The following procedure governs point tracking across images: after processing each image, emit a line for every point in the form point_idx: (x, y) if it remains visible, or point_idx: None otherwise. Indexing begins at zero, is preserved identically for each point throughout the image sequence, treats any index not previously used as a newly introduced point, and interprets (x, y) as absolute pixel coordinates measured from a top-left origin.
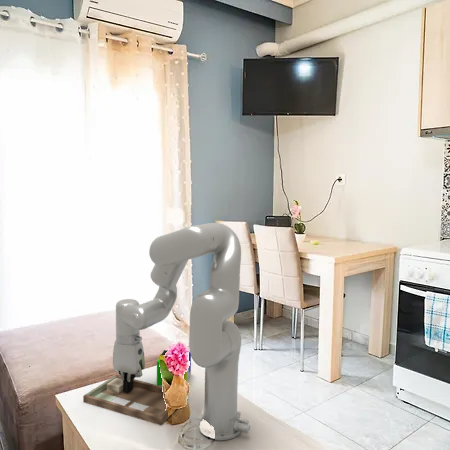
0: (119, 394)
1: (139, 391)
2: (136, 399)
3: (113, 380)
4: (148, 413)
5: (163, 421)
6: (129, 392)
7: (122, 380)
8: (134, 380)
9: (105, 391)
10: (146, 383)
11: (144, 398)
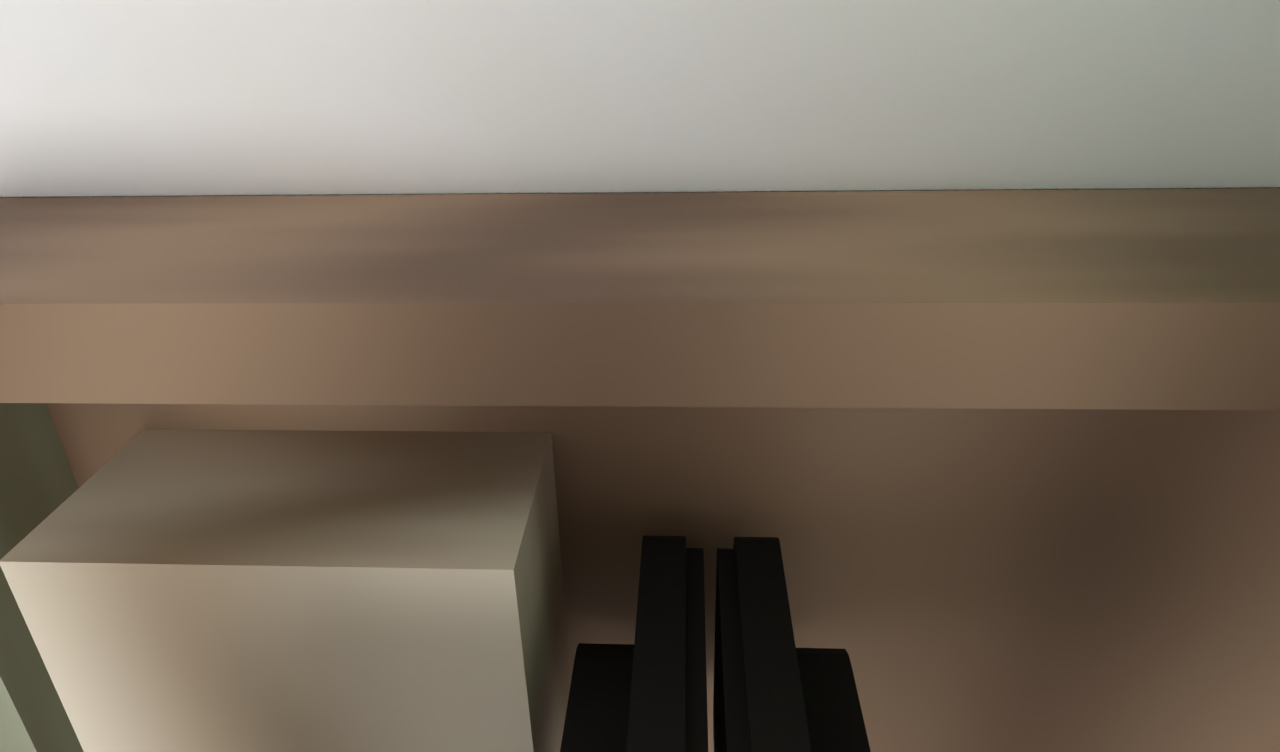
0: None
1: (965, 467)
2: (1076, 747)
3: (106, 718)
4: None
5: None
6: None
7: (333, 629)
8: (636, 369)
9: None
10: (1218, 371)
11: (1253, 663)
